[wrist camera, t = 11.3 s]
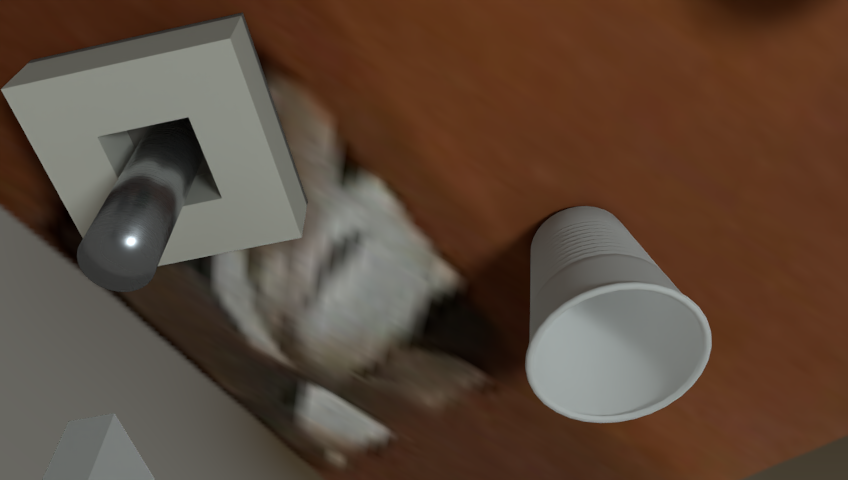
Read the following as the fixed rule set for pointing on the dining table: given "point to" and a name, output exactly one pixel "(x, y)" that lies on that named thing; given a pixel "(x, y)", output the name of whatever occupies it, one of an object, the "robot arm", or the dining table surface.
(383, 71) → the dining table surface
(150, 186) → the pin
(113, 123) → the bore block
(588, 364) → the cup
